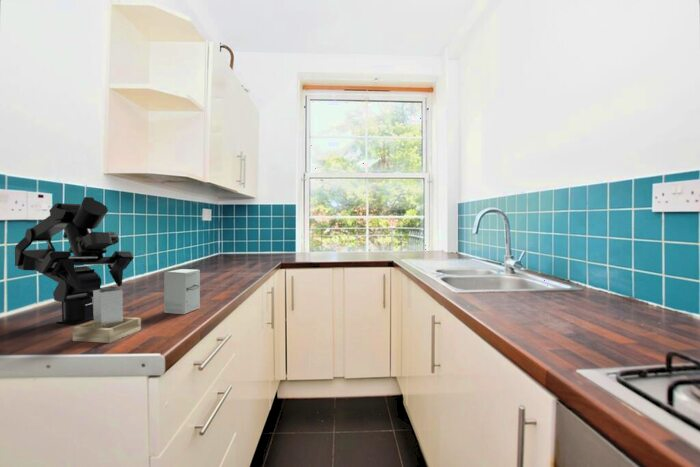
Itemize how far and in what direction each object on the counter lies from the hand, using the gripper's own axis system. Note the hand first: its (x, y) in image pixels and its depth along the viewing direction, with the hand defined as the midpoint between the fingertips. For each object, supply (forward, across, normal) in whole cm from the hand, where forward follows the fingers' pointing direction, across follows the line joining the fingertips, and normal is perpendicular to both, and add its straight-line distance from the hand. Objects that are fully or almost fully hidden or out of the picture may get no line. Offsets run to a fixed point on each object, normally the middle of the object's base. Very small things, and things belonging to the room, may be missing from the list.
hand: (100, 287), depth 84 cm
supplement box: (+8, +22, +5) cm, 24 cm away
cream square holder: (+12, 0, +3) cm, 12 cm away
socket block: (+11, 0, +2) cm, 11 cm away
